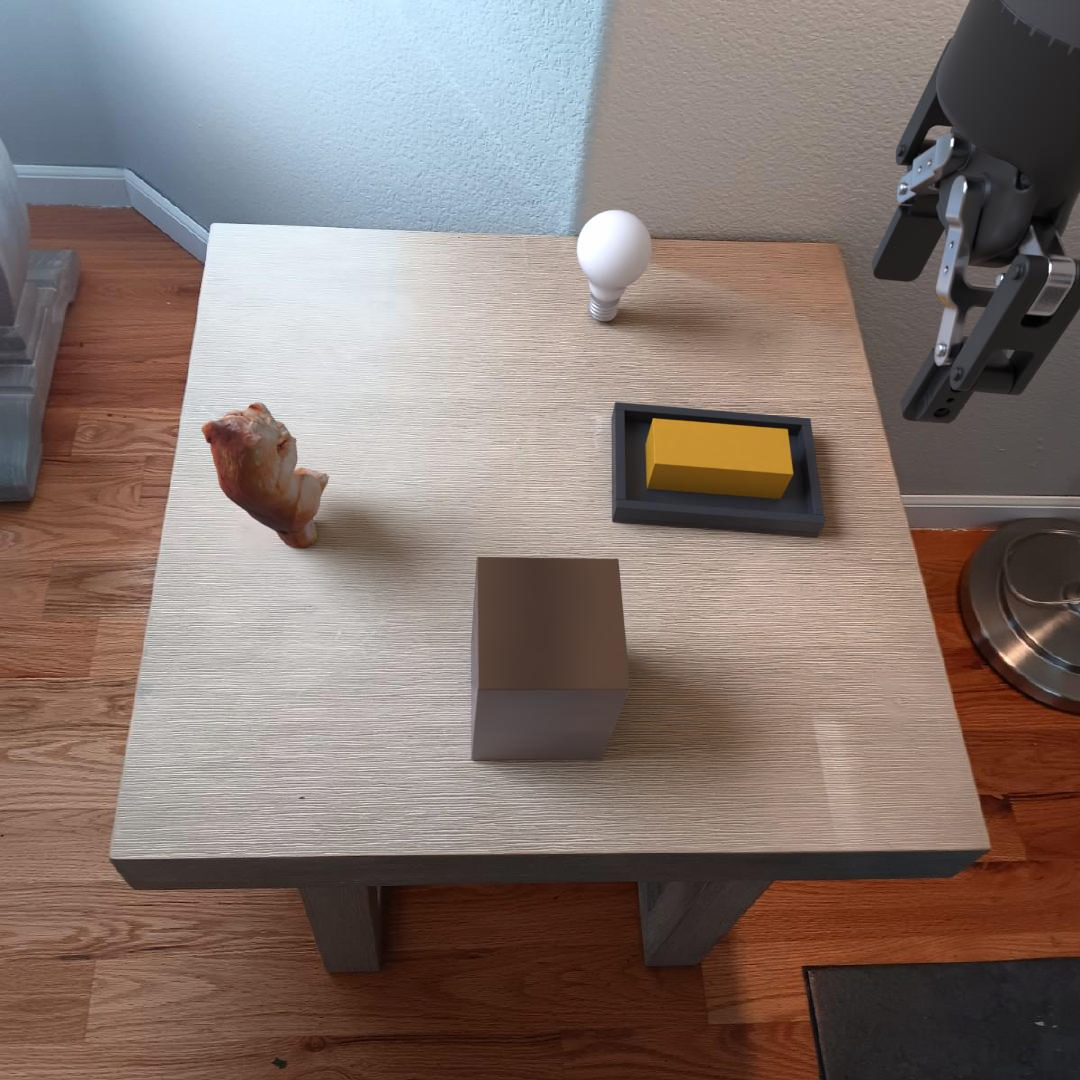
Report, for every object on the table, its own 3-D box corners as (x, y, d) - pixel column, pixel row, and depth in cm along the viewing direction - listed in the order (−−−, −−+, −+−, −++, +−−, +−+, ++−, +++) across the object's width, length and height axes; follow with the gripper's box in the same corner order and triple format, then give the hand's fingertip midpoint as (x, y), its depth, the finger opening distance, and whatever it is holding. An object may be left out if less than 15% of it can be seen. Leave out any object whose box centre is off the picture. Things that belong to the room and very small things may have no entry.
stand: (593, 642, 74) (618, 558, 64) (602, 759, 69) (630, 689, 59) (471, 641, 73) (476, 556, 63) (471, 760, 69) (477, 689, 58)
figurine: (339, 499, 79) (321, 371, 66) (309, 582, 75) (283, 462, 62) (263, 483, 79) (229, 352, 66) (229, 565, 75) (186, 442, 62)
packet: (775, 455, 84) (787, 429, 81) (780, 499, 82) (793, 474, 79) (645, 444, 84) (652, 418, 81) (646, 489, 81) (654, 463, 78)
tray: (817, 537, 81) (825, 523, 79) (611, 522, 80) (615, 507, 78) (802, 433, 86) (810, 418, 85) (611, 417, 86) (615, 401, 84)
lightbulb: (592, 351, 89) (611, 256, 80) (553, 305, 92) (566, 208, 83) (649, 326, 92) (673, 230, 82) (609, 281, 94) (628, 184, 85)
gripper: (1309, 138, 28) (1022, 476, 42) (1158, -117, 36) (957, 240, 49) (1048, 111, 28) (845, 462, 41) (952, -141, 35) (807, 226, 49)
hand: (906, 341), depth 45 cm, fingers open, 8 cm apart
